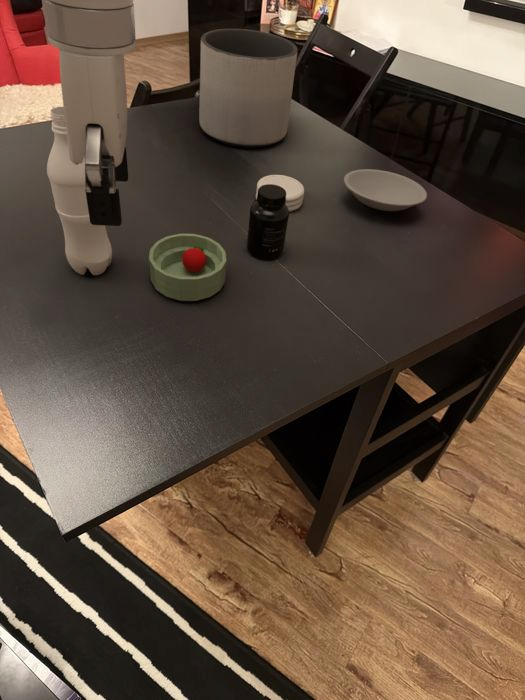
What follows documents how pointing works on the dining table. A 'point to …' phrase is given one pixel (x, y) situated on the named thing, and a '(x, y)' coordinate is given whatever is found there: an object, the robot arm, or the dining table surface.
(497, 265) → the dining table surface
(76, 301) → the dining table surface
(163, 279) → the bowl
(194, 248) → the cherry tomato
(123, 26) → the robot arm
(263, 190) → the supplement bottle
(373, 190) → the dish
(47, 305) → the dining table surface
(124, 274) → the dining table surface
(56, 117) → the water bottle
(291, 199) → the white round flat stack
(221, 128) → the planter
